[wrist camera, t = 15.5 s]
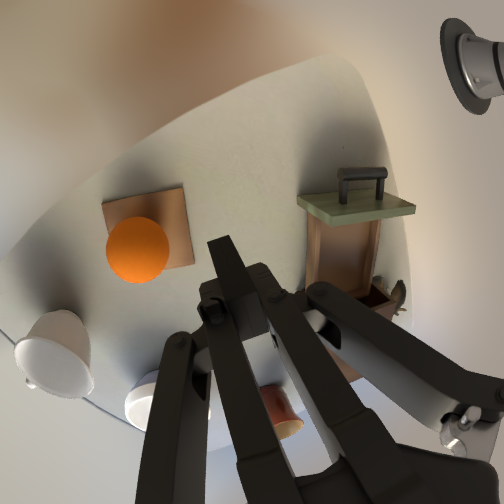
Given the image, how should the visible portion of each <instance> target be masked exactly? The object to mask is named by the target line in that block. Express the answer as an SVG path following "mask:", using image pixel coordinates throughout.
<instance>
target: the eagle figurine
mask: <svg viewBox="0 0 504 504" xmlns="http://www.w3.org/2000/svg"><path fill="white" fill-rule="evenodd" d="M372 280H373V281H374V282H375V283H376V284H377V285H378V286H380V287H381V288H382V289H383V280H382V277H380V276H378V277H377V276H375V278H373V279H372ZM383 290H384V289H383ZM386 292H387V293H388V294H389V295H390V290H389V289H388V287H387V290H386ZM390 296H391V297H392V298H393V299H394V300H396V301H397V304H396V307H395V311H394V314H395V315H397V316H398V315H399V314H398V313H397V311H406V309H404V308H400V307H401V306H402V305H403V304H404V302H405V297H406V287H405V284H404V283H403V280H400V281H399V280H398V281H397V283H396V285H395V287H394V288H393V290H392V292H391V295H390ZM394 314H393V315H394Z"/></svg>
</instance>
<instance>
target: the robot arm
mask: <svg viewBox="0 0 504 504" xmlns="http://www.w3.org/2000/svg"><path fill="white" fill-rule="evenodd" d="M455 51H456V58H457V63H458V67H459V70H460V73H461V76H462V78H463V81H464V83H465V85H466V87H467V88H468V90H469V92H470V93H471V94H472V95H473V96H474V97H476V98H479V99H488V98H492V97H496V96H501V95H504V42H492V41H489V40H486V39H483V38H481V37H477V36H475V35H471V34H459V35H458V36H457V38H456V43H455ZM207 244H208V248H209V251H210V254H211V258H212V261H213V264H214V267H215V271H216V274H217V277H218V278H215V279H212V280H210V281H207V282H204V283H201V286H200V288H199V292H200V297H201V302H200V303H199V305H198V307H197V310H198V312H199V315H200V317H201V319H202V321H203V324H202V326H201V327H200V328H199V329H198V330H196V331H195V332H193V333H192V334H190V333H188V332H185V331H180V332H177V333H174V334H173V335H171V336H170V337H169V338H168V339H167V341H166V343H165V347H164V351H163V355H162V359H161V363H160V367H159V371H158V376H157V380H156V385H155V389H154V394H153V398H152V403H151V408H150V413H149V418H148V423H147V428H146V434H145V440H144V445H143V451H142V457H141V463H140V469H139V476H138V483H137V491H136V499H135V504H205V477H206V453H207V434H208V417H209V401H210V387H211V370H213V369H214V373H215V378H216V382H217V386H218V390H219V394H220V398H221V402H222V405H223V409H224V413H225V417H226V420H227V424H228V428H229V431H230V435H231V438H232V442H233V445H234V448H235V452H236V455H237V463H236V465H237V470H238V474H239V477H240V481H241V484H242V487H243V490H244V493H245V496H246V499H247V501H248V502H247V504H500V501H499V490H498V489H499V480H498V475H497V472H496V470H495V468H494V467H493V466H492V465H491V464H489V461H490V458H491V455H492V452H493V449H494V445H495V441H496V438H497V434H498V431H499V426H500V422H501V419H502V418H503V417H504V379H500V378H496V377H491V376H487V375H483V374H479V373H475V372H471V371H467V370H465V369H463V368H462V367H460V366H459V365H457V364H456V363H454V362H453V361H451V360H450V359H448V358H447V357H445V356H444V355H442V354H441V353H439V352H438V351H436V350H435V349H433V348H432V347H430V346H428V345H427V344H425V343H424V342H422V341H421V340H419V339H417V338H416V337H415V336H413V335H411V334H410V333H408V332H407V331H405V330H404V329H402V328H401V327H399V326H397V325H396V324H394V323H393V322H391V321H390V320H388V319H386V318H385V317H383V316H382V315H380V314H379V313H377V312H375V311H374V310H372V309H371V308H369V307H367V306H366V305H364V304H363V303H361V302H360V301H358V300H356V299H355V298H353V297H352V296H350V295H348V294H347V293H345V292H344V291H342V290H340V289H339V288H337V287H336V286H334V285H332V284H331V283H328V282H325V281H319V282H314V283H312V284H310V285H309V286H308V287H307V289H306V292H305V293H297V294H292V293H289V292H288V291H286V290H285V289H282V288H281V286H280V285H279V283H278V282H277V280H276V279H275V277H274V276H273V275H272V273H271V271H270V270H269V268H268V267H267V265H265V264H263V263H261V262H259V263H256V264H254V265H251V266H248V267H245V265H244V263H243V261H242V259H241V257H240V255H239V253H238V252H237V250H236V248H235V246H234V244H233V242H232V240H231V238H230V236H229V235H226V236H223V237H221V238H218V239H215V240H212V241H209V242H207ZM268 328H269V329H268ZM269 331H270V333H271V337H272V340H273V344H274V347H275V348H277V350H278V352H279V354H280V356H281V358H282V360H283V362H284V364H285V367H286V369H287V371H288V373H289V375H290V377H291V379H292V381H293V383H294V385H295V387H296V389H297V391H298V393H299V395H300V397H301V399H302V401H303V403H304V405H305V407H306V409H307V411H308V413H309V415H310V417H311V419H312V421H313V423H314V425H315V427H316V429H317V431H318V433H319V435H320V437H321V439H322V441H323V443H324V444H325V446H326V448H327V451H328V454H329V457H330V459H331V461H332V463H333V464H332V465H331V466H330V467H329V468H327V469H326V470H324V471H323V472H321V473H318V474H313V475H307V476H300V477H296V476H295V474H294V472H293V470H292V468H291V465H290V463H289V461H288V459H287V456H286V454H285V452H284V449H283V447H282V444H281V442H280V440H279V437H278V435H277V432H276V430H275V427H274V425H273V422H272V420H271V417H270V415H269V412H268V410H267V407H266V405H265V402H264V400H263V397H262V395H261V392H260V389H259V387H258V384H257V382H256V379H255V376H254V374H253V371H252V368H251V366H250V363H249V360H248V357H247V355H246V352H245V349H244V347H243V344H242V341H245V340H248V339H251V338H253V337H256V336H259V335H262V334H264V333H267V332H269ZM323 344H324V345H326V346H327V347H328V348H329V349H330V350H332V351H333V352H334V353H335V354H336V355H338V356H339V357H340V358H341V359H342V360H343V361H345V362H346V363H347V364H348V365H349V366H351V367H352V368H353V369H354V370H356V371H357V372H358V373H359V374H360V375H362V376H363V377H364V378H365V379H366V380H368V381H369V382H370V383H371V384H373V385H374V386H375V387H376V388H378V389H379V390H380V391H381V392H383V393H384V394H385V395H386V396H387V397H389V398H390V399H391V400H392V401H393V402H395V403H396V404H397V405H398V406H400V407H401V408H402V409H403V410H405V411H406V412H407V413H409V414H410V415H411V416H412V417H413V418H415V419H416V420H418V421H419V422H420V423H422V424H423V425H425V426H427V427H428V428H430V429H432V430H434V431H437V432H440V440H441V444H442V445H443V446H445V447H447V448H449V449H450V450H451V451H452V452H453V453H454V456H452V455H447V454H442V453H437V452H432V451H428V450H424V449H419V448H416V447H412V446H408V445H404V444H398V443H396V442H395V441H394V439H393V438H392V436H391V435H390V433H389V432H388V430H387V429H386V428H385V426H384V425H383V423H382V421H381V420H380V418H379V417H378V416H377V414H376V413H375V412H374V411H373V410H372V409H371V408H366V407H365V406H364V405H363V403H362V402H361V400H360V399H359V397H358V396H357V394H356V393H355V391H354V390H353V388H352V387H351V385H350V384H349V382H348V381H347V379H346V378H345V376H344V375H343V373H342V372H341V370H340V369H339V367H338V366H337V364H336V363H335V361H334V360H333V358H332V357H331V355H330V354H329V352H328V351H327V349H326V348H325V346H324V345H323Z"/></svg>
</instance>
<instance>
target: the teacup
mask: <svg viewBox="0 0 504 504" xmlns="http://www.w3.org/2000/svg"><path fill="white" fill-rule="evenodd" d="M14 356H15V360H16V363H17V365H18V367H19V368H20V370H21V371H22V373H23V374H24V375H25V376H26V384H27V385H28V386H29V387H30V388H35V387H36V386H37V387H39V388H40V389H42V390H43V391H45V392H47V393H49V394H52V395H55V396H58V397H62V398H69V399H75V398H81V397H84V396H87V395H88V394H89V393H90V392H91V391H92V390H93V387H94V378H93V375H92V373H91V371H90V356H91V344H90V338H89V335H88V333H87V331H86V329H85V328H84V325H83V323H82V321H81V319H80V318H79V317H78V316H77V315H76V314H74V313H73V312H71V311H68V310H57V311H55V312H49V313H46V314H44V315H43V316H42V317H40V318H39V320H38V321H37V322H36V323H35V324H34V326H33V327H32V329H31V330H30V332H29V333H28V335H27V336H26V337H24V338H21V339H20V340H18V341H17V342H16V344H15V347H14Z"/></svg>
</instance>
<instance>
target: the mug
mask: <svg viewBox="0 0 504 504" xmlns="http://www.w3.org/2000/svg"><path fill="white" fill-rule="evenodd" d="M260 392H261V395H262V397H263V400H264V402H265V405H266V407H267V410H268V412H269V415H270V417H271V420H272V422H273V425H274V427H275V430H276V432H277V435H278V437H279V440H281V439H284V438H286V437H289V436H291V435H293V434H294V433H296V432H298V431H299V430H300V429H301V428H302V427H303V425H304V422H303V421H302V420H301V419H300V418H299V417H298V416H297V415H296V413H295V412H294V410H293V408H292V406H291V404H290V401H289V399H288V397H287V394H286V393H285V392H284V390H283V389H282V388H281V387H280V386H277V385H268V386H264V387H262V388H260Z"/></svg>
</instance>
